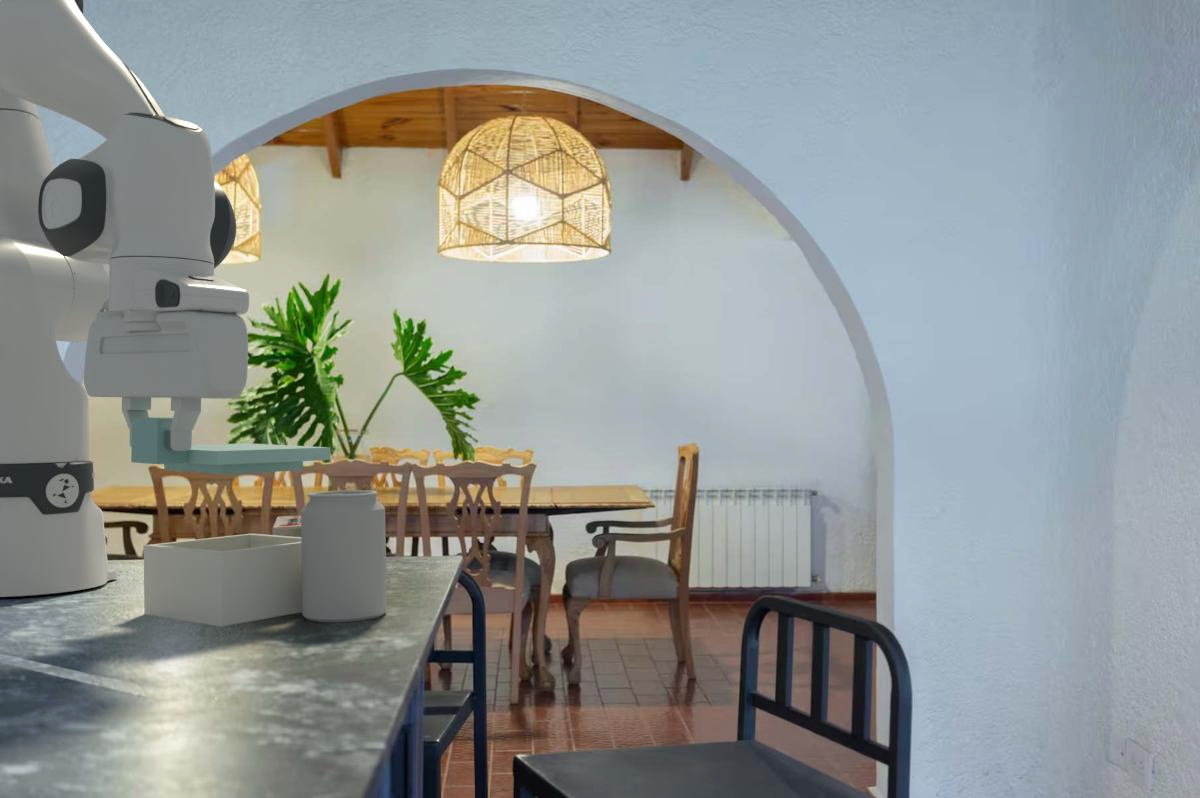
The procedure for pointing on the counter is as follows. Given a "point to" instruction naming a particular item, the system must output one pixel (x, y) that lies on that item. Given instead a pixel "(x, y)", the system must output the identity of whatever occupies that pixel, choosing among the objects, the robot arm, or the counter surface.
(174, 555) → the tub
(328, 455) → the lid
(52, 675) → the counter surface
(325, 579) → the can
